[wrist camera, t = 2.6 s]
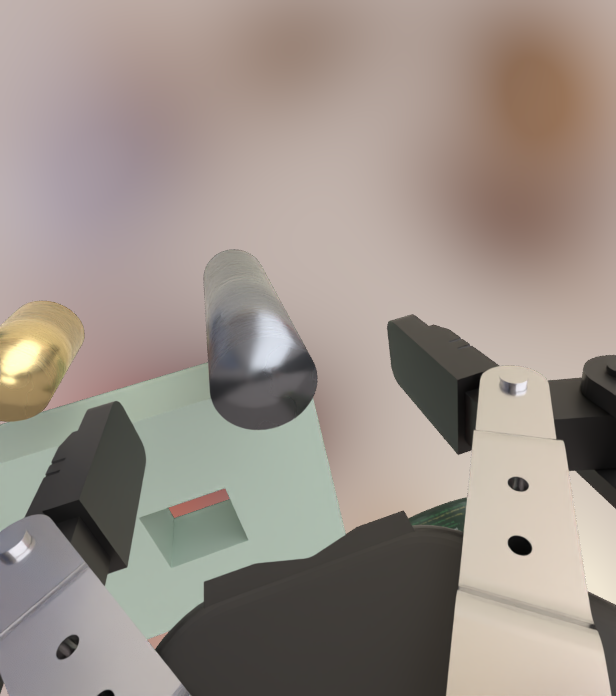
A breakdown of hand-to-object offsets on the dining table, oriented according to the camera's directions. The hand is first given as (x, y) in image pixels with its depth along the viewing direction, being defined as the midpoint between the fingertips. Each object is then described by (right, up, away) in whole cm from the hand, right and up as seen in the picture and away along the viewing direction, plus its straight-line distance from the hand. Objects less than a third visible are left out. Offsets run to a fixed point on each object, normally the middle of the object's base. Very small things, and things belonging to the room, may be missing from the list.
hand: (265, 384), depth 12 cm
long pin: (-2, +4, +8) cm, 9 cm away
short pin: (-11, +2, +7) cm, 13 cm away
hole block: (-6, -7, +13) cm, 16 cm away
